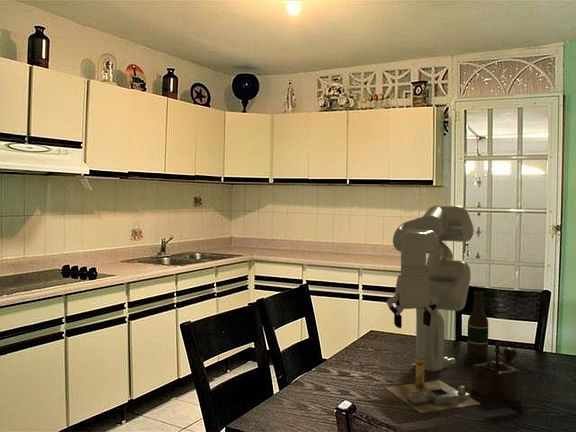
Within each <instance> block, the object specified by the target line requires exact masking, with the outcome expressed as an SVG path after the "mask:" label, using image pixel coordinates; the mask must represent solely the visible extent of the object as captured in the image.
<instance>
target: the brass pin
mask: <svg viewBox="0 0 576 432" xmlns="http://www.w3.org/2000/svg"><path fill="white" fill-rule="evenodd" d="M414 363H416V365H415V383H416V389H419V390H420V389H422V388H424V382H425V370H424V364H425V363H426V359H423V358H416V357H415V358H414Z"/></svg>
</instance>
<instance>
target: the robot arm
mask: <svg viewBox="0 0 576 432" xmlns="http://www.w3.org/2000/svg"><path fill="white" fill-rule="evenodd" d="M473 235H474V225H473V223H472V220H471V217H470V213H468V211H467V209H466V208H465V207H463V206H462V205H456V204H455V205H451V204H450V205H447V204H446V205H442V204H439V205H438V204H437V205H433V206H432V207H430V208H428V209H427V211H426V212H425V213H424V215H423V216H421V217H417V218H414V219H410V220H408V221H405V222H403V223H401V224H400V225H399V226H398V227H397V229H396V230H395V231H394V234H393V237H392V244H393V248H394V249H395V250H396V251H398V252H399V253H400V275H399V274H398V275H397V279H396V284H395V293H394V296H392V297H389V298H388V299H387V300H386V301H385V303H386V305H387V307H388V309H389V310H390V311H391V312H392V313H393V315H394V317H393V319H394V320H393V324H394V326H395V327H396V328H398V329H402V326H403V325H402V321H403V320H402V318H403V315H401V313H402V312H403V311H404V310H413V309H415V313H416V315H415V317H416V319H415V323H416V324H415V328H416V329H415V358H423V359H426V363H425V364H424V371H429V372H437V371H442V370H444V368H447V369H448V365H454V364H455V365H456V363H457V362H456V361H457V360H456V359H455V357H454V358H453V357H450V358H449V357H447V356H445V320H444V317H443V316H442V314H441V312H440V311H439V310H442V311H446V310H447V311H450V312H451V311H453V312H460V311H463V309H464V308H465V306H466V303H467V298H468V293H469V288H470V283H471V268H470V265H469V264H468V263H467V262H465V261H463V260H454V259H453V258H454V254H453V251H452V250H451V249H450V248H449V246H447V244H445V242H457V243H459V242H460V243H465V242H470V240H471V239H473ZM427 254H428V258H427ZM394 305H395V306H394ZM411 366H416V363H415V362H414V363H412V364H411Z"/></svg>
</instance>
